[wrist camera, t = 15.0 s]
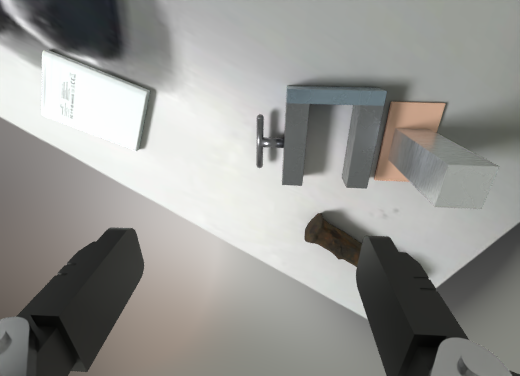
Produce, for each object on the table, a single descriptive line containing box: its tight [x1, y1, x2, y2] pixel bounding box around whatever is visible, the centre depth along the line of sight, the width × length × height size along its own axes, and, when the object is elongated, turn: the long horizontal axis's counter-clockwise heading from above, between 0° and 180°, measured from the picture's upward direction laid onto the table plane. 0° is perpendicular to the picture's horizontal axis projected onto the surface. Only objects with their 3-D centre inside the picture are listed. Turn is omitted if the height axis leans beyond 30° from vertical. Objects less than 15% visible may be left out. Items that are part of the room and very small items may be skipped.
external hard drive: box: [41, 50, 150, 151], centre depth 35 cm, size 2×8×12 cm
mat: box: [374, 102, 446, 182], centre depth 34 cm, size 10×6×1 cm, turn 179°
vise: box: [257, 86, 387, 188], centre depth 34 cm, size 12×14×3 cm
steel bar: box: [388, 128, 500, 209], centre depth 29 cm, size 4×4×12 cm
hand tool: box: [305, 214, 362, 267], centre depth 41 cm, size 19×4×5 cm, turn 55°
